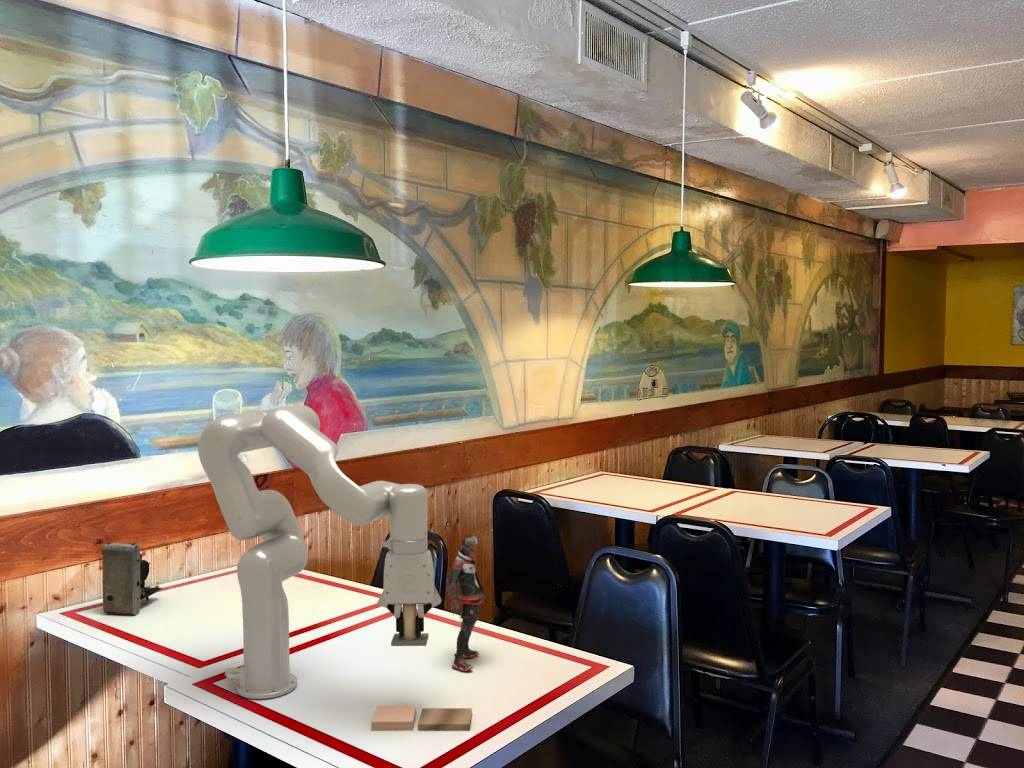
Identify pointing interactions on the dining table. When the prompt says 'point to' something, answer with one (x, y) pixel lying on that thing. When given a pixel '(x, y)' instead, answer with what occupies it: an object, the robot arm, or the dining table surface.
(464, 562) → the action figure
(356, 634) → the dining table surface
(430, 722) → the board
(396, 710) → the tile
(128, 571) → the vintage camera
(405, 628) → the float
